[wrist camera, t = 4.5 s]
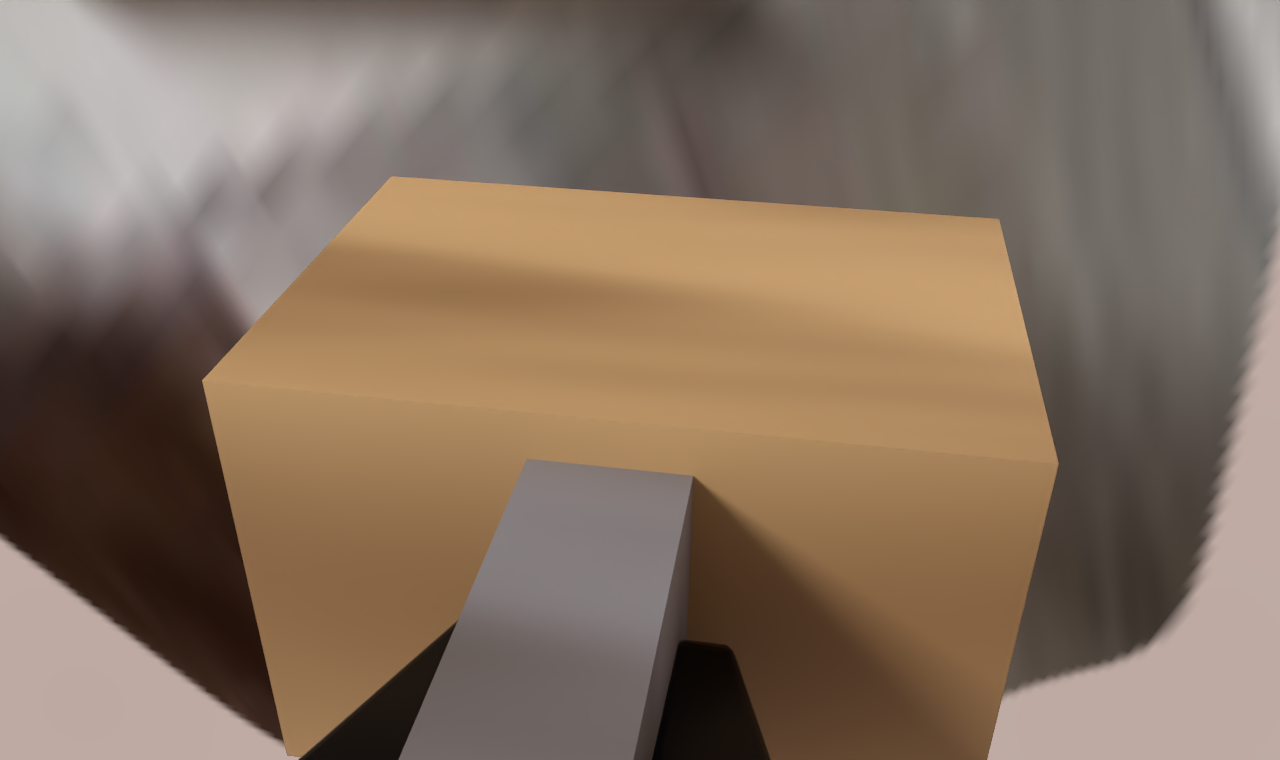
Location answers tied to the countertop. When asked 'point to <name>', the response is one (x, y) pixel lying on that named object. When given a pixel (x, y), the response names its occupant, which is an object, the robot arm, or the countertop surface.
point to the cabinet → (640, 470)
